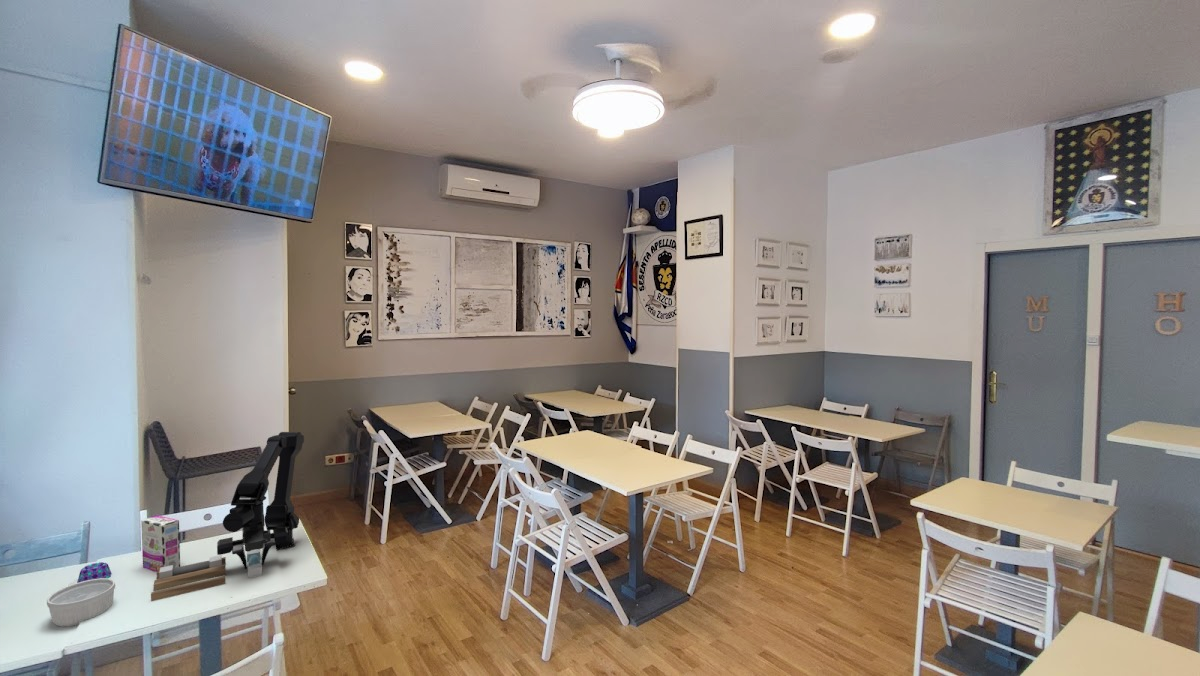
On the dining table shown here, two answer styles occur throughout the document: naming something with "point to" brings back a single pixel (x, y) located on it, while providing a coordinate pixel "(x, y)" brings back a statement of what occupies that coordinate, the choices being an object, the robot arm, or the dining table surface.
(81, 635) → the dining table surface
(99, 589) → the ramekin
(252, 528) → the robot arm
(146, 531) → the candy bar box
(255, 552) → the grey and teal bar
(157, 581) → the walnut rack
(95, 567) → the purple spotted rounded lump
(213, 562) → the grey white-ended bar
